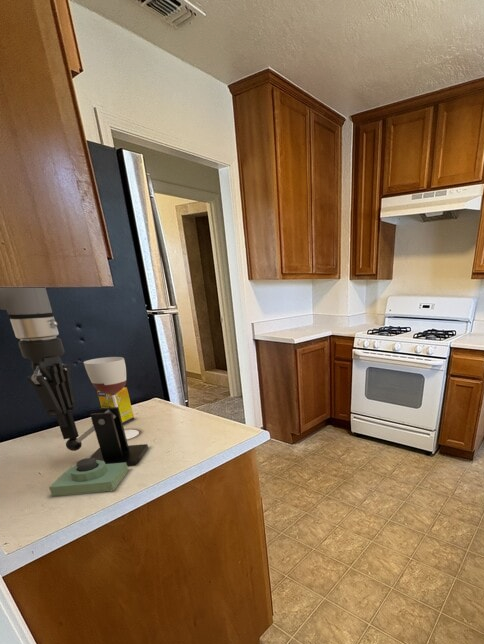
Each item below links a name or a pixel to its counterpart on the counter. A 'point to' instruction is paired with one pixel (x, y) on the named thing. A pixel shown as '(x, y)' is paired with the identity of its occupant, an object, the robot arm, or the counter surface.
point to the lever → (80, 438)
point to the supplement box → (122, 403)
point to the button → (86, 464)
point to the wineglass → (109, 379)
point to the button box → (89, 479)
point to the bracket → (114, 439)
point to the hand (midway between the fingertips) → (71, 437)
